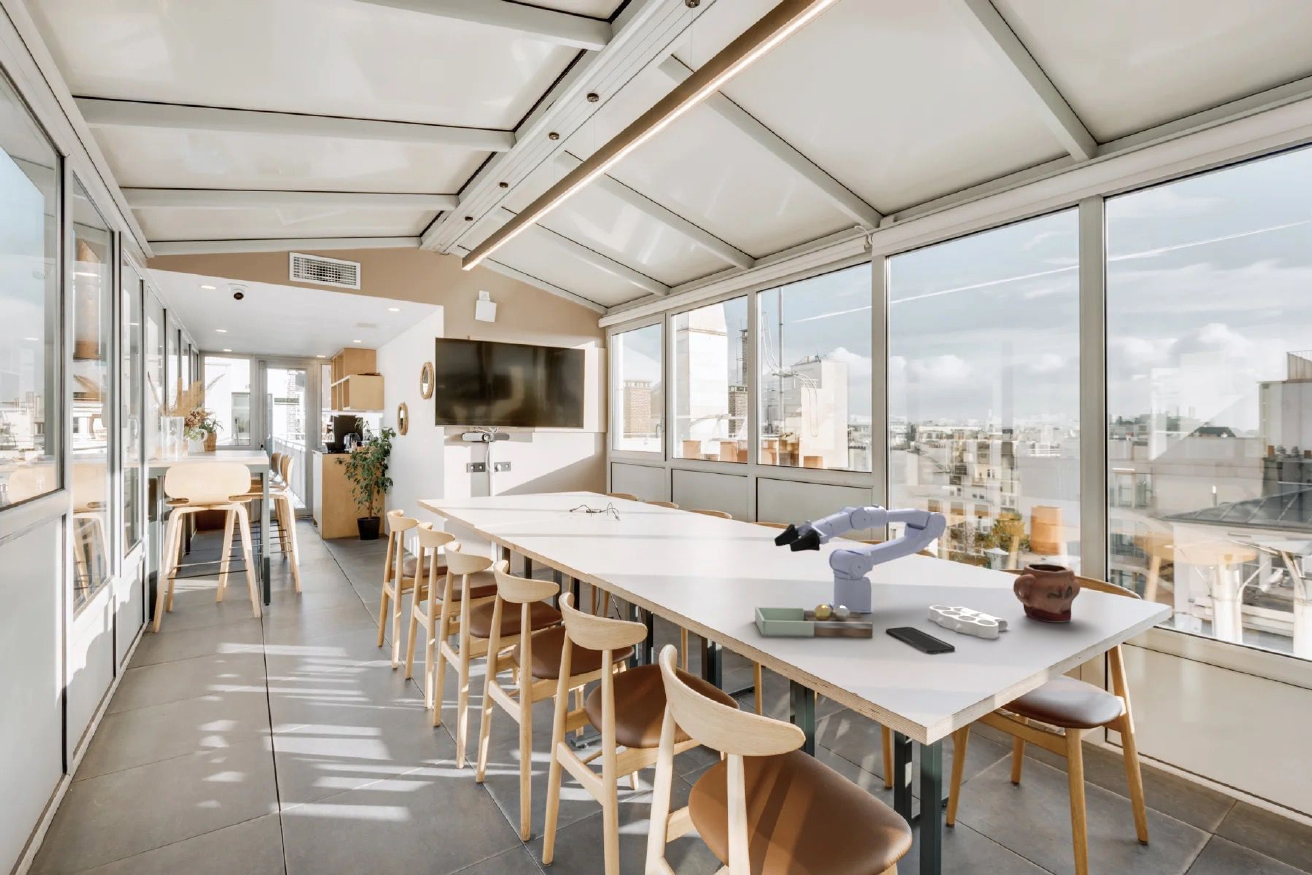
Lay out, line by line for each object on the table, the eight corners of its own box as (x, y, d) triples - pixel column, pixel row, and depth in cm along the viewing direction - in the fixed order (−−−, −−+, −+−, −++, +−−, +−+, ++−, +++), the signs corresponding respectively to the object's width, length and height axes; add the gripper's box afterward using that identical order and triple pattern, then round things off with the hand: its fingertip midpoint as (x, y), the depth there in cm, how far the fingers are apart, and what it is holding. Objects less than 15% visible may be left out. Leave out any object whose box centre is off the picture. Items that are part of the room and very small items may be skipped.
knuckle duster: (1020, 634, 147) (978, 642, 141) (955, 614, 163) (916, 620, 157) (1020, 621, 147) (979, 628, 140) (955, 601, 163) (916, 607, 157)
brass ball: (828, 618, 149) (828, 602, 149) (832, 623, 145) (833, 607, 145) (812, 618, 149) (812, 602, 149) (816, 623, 145) (816, 607, 145)
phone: (910, 626, 148) (957, 647, 134) (910, 630, 148) (957, 652, 134) (883, 628, 146) (927, 650, 132) (883, 633, 146) (927, 655, 132)
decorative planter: (1039, 630, 149) (1040, 574, 149) (995, 616, 160) (996, 564, 160) (1092, 622, 157) (1094, 568, 156) (1047, 609, 168) (1048, 559, 168)
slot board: (858, 623, 152) (859, 610, 152) (872, 637, 142) (872, 623, 142) (803, 622, 152) (803, 609, 152) (812, 635, 142) (813, 622, 142)
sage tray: (802, 621, 153) (802, 607, 153) (813, 637, 142) (814, 622, 142) (755, 620, 153) (755, 606, 153) (762, 636, 142) (762, 621, 142)
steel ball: (846, 619, 149) (846, 603, 149) (851, 624, 145) (851, 607, 145) (830, 618, 149) (830, 602, 149) (835, 623, 145) (835, 607, 145)
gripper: (807, 511, 169) (765, 526, 165) (838, 518, 155) (794, 535, 151) (812, 535, 170) (771, 550, 165) (844, 544, 156) (801, 561, 152)
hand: (783, 545), depth 158 cm, fingers open, 7 cm apart
